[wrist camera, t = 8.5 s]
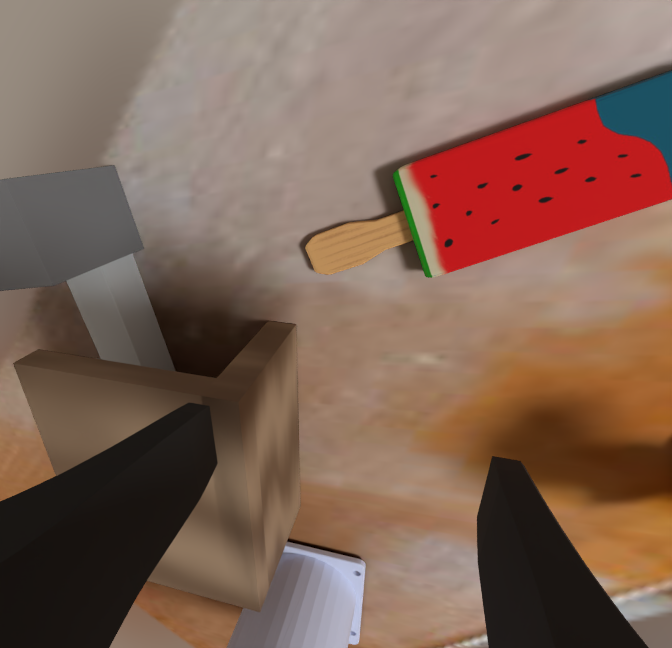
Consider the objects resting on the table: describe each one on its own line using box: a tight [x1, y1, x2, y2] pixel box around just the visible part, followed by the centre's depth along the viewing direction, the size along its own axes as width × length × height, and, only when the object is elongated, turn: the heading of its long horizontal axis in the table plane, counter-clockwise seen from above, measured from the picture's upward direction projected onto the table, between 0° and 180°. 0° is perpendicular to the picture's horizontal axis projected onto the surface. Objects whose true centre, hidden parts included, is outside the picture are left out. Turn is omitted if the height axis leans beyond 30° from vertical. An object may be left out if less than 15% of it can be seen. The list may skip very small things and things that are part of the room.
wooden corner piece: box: [13, 321, 301, 612], centre depth 22 cm, size 13×10×7 cm
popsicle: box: [305, 70, 672, 277], centre depth 16 cm, size 4×2×15 cm
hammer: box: [0, 165, 175, 371], centre depth 21 cm, size 18×4×6 cm, turn 9°
